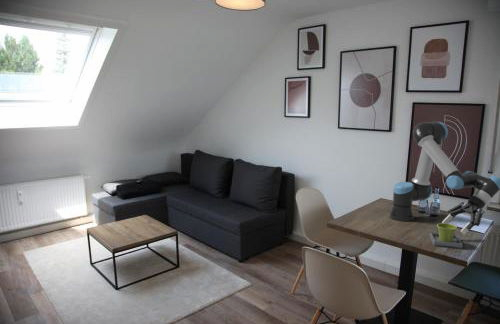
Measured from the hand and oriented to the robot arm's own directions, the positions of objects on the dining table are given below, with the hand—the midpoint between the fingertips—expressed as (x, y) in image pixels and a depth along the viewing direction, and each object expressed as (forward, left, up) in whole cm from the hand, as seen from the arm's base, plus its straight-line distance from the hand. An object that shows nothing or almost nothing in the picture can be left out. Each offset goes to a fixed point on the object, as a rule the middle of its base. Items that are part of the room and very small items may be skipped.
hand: (452, 228), depth 187 cm
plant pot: (-3, -1, -7) cm, 8 cm away
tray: (-3, -1, -8) cm, 9 cm away
